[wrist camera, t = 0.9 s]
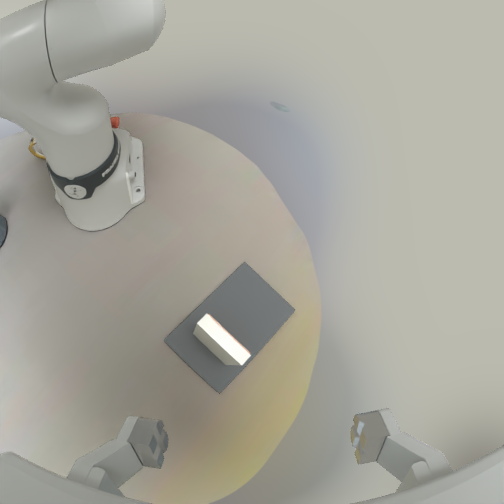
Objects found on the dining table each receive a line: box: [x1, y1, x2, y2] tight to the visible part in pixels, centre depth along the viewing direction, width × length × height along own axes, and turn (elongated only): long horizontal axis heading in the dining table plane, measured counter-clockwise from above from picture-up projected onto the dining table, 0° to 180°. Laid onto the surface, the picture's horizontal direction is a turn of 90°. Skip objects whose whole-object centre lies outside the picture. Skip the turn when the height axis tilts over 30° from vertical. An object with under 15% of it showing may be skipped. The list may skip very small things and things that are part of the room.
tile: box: [193, 314, 251, 365], centre depth 38 cm, size 2×7×13 cm, turn 47°
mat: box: [164, 262, 295, 394], centre depth 46 cm, size 19×12×1 cm, turn 137°
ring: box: [29, 137, 46, 159], centre depth 45 cm, size 7×3×8 cm, turn 90°
